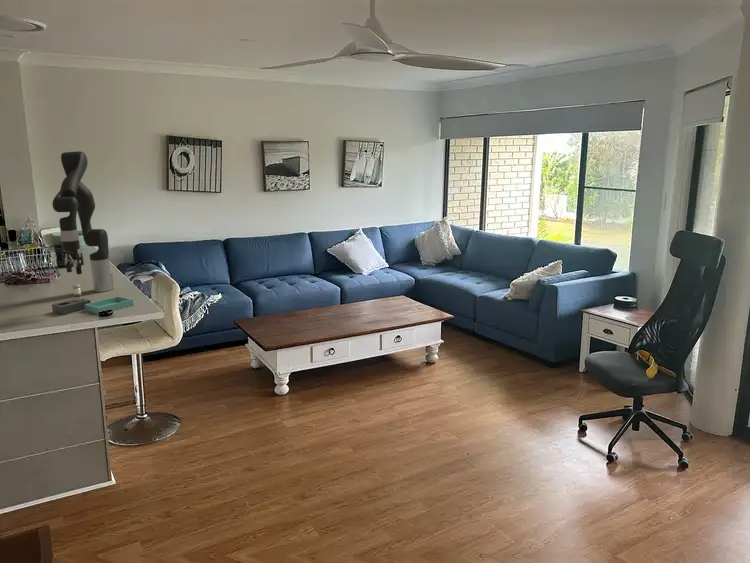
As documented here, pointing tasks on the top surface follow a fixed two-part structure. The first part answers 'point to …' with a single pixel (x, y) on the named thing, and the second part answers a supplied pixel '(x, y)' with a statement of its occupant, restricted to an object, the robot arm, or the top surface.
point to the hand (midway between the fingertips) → (74, 273)
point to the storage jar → (60, 256)
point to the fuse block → (69, 306)
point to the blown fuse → (77, 293)
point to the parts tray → (108, 304)
